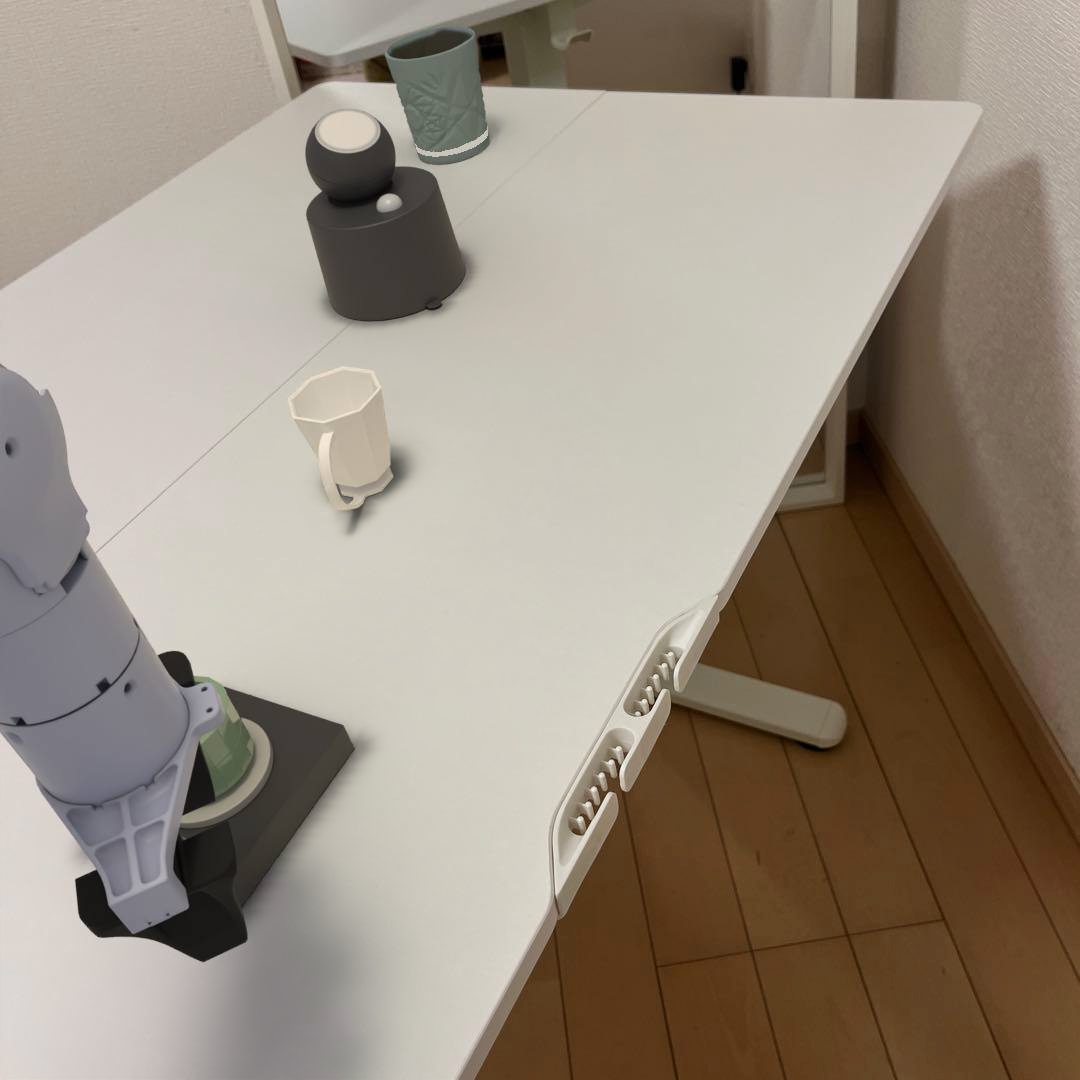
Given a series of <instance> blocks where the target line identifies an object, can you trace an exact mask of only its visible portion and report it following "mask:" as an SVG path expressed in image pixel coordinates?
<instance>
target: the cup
mask: <svg viewBox="0 0 1080 1080" xmlns="http://www.w3.org/2000/svg"><path fill="white" fill-rule="evenodd" d="M287 403H288V407H289V410H290V414H291V417H292V419H293V421H294V423H295V424H296V426H297V428H298V429H299V431H300V432H301V434H302V436H303V437H304V439H305V441H306V442H307V443H308V445H309V447H310V449H311V450H312V452H313V453H314V455H315V457H316V458H317V460H318V464H319V472H320V476H321V477H320V478H321V480H322V483H323V488H324V490H325V493H326V496H327V499H328V502H330V504H331V506H332V507H333V509H335V510H337V511H349V510H355V509H358V508H360V507H361V506H363V504H364V503H365V500H366V498H367V497H370V496H372V495H375V494H378V493H381V492H383V491H384V490H385V488H386V487H387V486H388V485H389V484H390V482H391V481H392V480H393V479H394V474H393V472H392V469H391V467H390V466H392V465H391V440H390V436H389V435H390V434H389V428H388V423H387V417H386V410H385V403H384V397H383V391H382V387H381V384H380V382H379V380H378V377H377V374H376V372H375V370H374V369H368V368H360V367H353V366H345V365H343V366H339V367H336V368H335V369H331V370H328V371H325V372H322V373H319V374H316V375H312V376H310V377H308V378H307V379H306V380H305V381H304V382H303V383H302V384H301V385H299V387H298V388H297V389H295V391H294V392H293V393H292V394H290V396H289V397H288V398H287ZM337 485H338V486H337ZM338 488H339V489H338ZM339 491H340V493H341V495H342V496H344V497H350V498H352V501H351V502H350V503H345V502H344V500H343V498H342V497H341V495H340V493H339Z"/></svg>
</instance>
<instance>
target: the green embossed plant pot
mask: <svg viewBox="0 0 1080 1080" xmlns="http://www.w3.org/2000/svg"><path fill="white" fill-rule="evenodd" d="M477 45H478V43H477V36H476V32H475V30H474V29H472V28H470V27H467V26H461V25H460V26H459V25H453V26H452V25H449V26H439V27H434V28H433V27H432V28H428V29H425V30H421V31H417V32H414V33H411V34H409V35H406V36H404V37H401V38H399V39H397V40H396V41H394V42H392V43H391V44H390V45H388V46H387V47H386V48H385V50H384V57H385V60H386V62H387V65H388V69H389V71H390V75H391V77H392V79H393V81H394V83H395V88H396V91H397V95H398V98H399V99H400V104H401V106H402V107H403V113H404V114H405V118H406V123H407V125H408V128H409V131H410V133H411V136H412V140H413V144H414V143H415V144H416V145H417V147H418V148H420V149H422V150H425V151H430V152H433V151H434V152H442V151H445V150H450V149H454V148H458V147H460V146H462V145H464V144H466V143H469V142H471V141H474V140H476V139H477V138H478V137H480V136H481V135H482V134H484V132H485V131H486V130H487V126H488V123H487V120H486V118H487V117H486V114H487V113H486V112H487V111H486V109H485V107H486V105H485V104H486V103H485V101H484V93H483V83H482V79H481V73H480V70H479V69H480V65H479V64H480V63H479V54H478V46H477ZM489 143H490V133H489V132H488V136H487V138H486V139H485V140H484V141H483V142H482V143H480V144H479V145H477V146H476V147H474V148H472V149H469V150H467V151H464V152H461V153H458V154H453V155H448V156H439V157H432V156H425V155H422V154H420V153H418V152H417V150H416V149H415V151H416V153H417V154H416V155H417V156H418V157H419V159H420V160H421V161H422V162H423V163H426V164H430V165H448V164H449V165H450V164H453V163H454V164H455V163H458V162H462V161H465V160H468V159H470V158H473V157H474V156H477V155H478V154H481V153H482V152H484V150H485V149H486V148H487V147H488V146H489ZM415 144H414V145H415Z"/></svg>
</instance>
